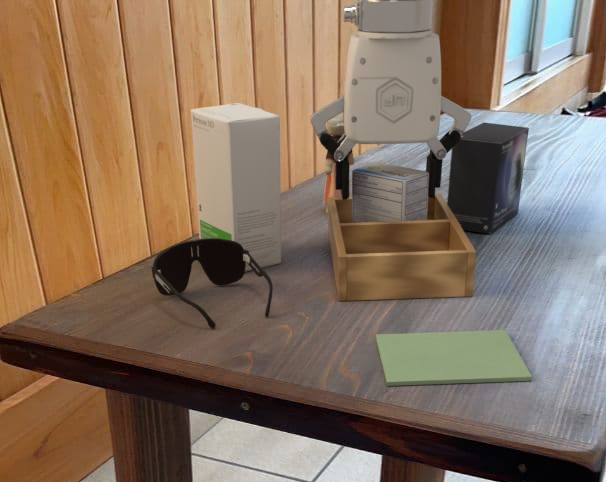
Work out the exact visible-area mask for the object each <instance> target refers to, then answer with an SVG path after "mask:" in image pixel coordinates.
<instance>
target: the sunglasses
mask: <svg viewBox="0 0 606 482" xmlns="http://www.w3.org/2000/svg"><path fill="white" fill-rule="evenodd" d="M196 261H197V262H199V265H200V266H201V268H202V270H203V272H204V274H205V275H206V277H207V278H208V280H209V281H210V282H211V283H212V284H213V285H215V286H228V285H231V284H234V283H237V282H238V281H240V280H241V279H243V278H244V276H245V274H246V272H245V268H246V262H247V264H248V265H249V266H250V267H251V268H252V270H251V271H253V272H254V273H255V275H256V276H257V277H258V278H260V277H261V278H262V277H263V278H264V279H265V281H266V282H267V284H268V288H269V292H268V298H267V304H266V308H265V312H264V316H265V317H266V318H269V316H270V312H271V311H270V309H271V305H272V299H273V282H272V279H271V277H270V276H269V274H268V273H267V271H265V270H264V269H263V268H261V267H260V266H259V265H258V264H257V262H256V261H255V260H254V259H253V258H252V256H251V255H250V254H249V251H248V250H244V249H243V247H242V246H241V244H239V243H238V242H235V241H232V240H226V239H221V238H204V239H200V238H197V239H191V240H186V241H182V242H179V243H176V244H173V245H171V246H169V247H167V248H166V249H164V250H162V251H161V252H159V253H158V255H156V257H155V258H154V260H153V263H152V264H153V265H152V266H151V274H152V278H153V280H154V283H155V286H156V289H157V291H158V292H159V294H161V295H162V296H167V297H169V296H170V297H171V296H176V297H177V298H178V299H179V300H181V301H182V302H183V303H186V304H187V305H190V306H191V307H193V308H195V310H197V311H198V312H199V313H200V314H201V315H202V317H203V318H204V319H205V320H206V323H207V325H208V327H209V328H211V329H216V325H217V324H216V323H215V321H214V320H213V319H212V318H211V317H210V315H209V314H208V313H207V312H206V311H205V309H203V308H202V307H201V306H200V305H199V304H197V303H196V302H194V301H191V299H188V298H186V297H185V296H184V295H182V293H183V292H185V290H186V289H187V287H188V285H189V281H190V277H191V273H192V268H193V263H194V262H196Z"/></svg>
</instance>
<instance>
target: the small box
mask: <svg viewBox="0 0 606 482" xmlns="http://www.w3.org/2000/svg"><path fill="white" fill-rule="evenodd" d="M529 131H530V128H529V127H527V126H517V125H509V124H502V123H501V124H500V123H492V122H482V123H479V124H477V125H475V126H473V127H471V128H470V129H466V130H465V131H464V133H463V134H462V136H461V139H460V141H459V142H458V143H457V144H456V145H455V146H454V147H453V148H452V149H451V150H450V165H449V175H448V189H447V199H446V203H447V204H448V206H449V208H450V209H451V211H452V213H453V214H454V216H455V218H456V219H457V221H458V223H459V224H460V226H461V227H462V229H463V231H465V232H467V231H468V232H473V233H480V234H487V235H489V234H493V233H494V232H495V231H496V230H497V229H499V228H500V227H501V226H503V225H505V224H506V223H508V221H510V220H511V219H512V218H513V217H515V216H517V215H519V208H520V200H521V193H522V185H523V177H524V168H525V160H526V152H527V145H528V137H529Z"/></svg>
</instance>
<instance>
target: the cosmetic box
mask: <svg viewBox="0 0 606 482" xmlns="http://www.w3.org/2000/svg"><path fill="white" fill-rule="evenodd" d="M190 119H191V121H190V122H191V133H192V149H193V162H194V163H193V164H194V177H195V179H194V180H195V192H196V208H197V223H198V237H199V238H198V239H204V238H221V239H226V240H232V241H235V242H238V243H239V244H241V246H242V247H243V249H244V250H248V251H249V254H250V255H251V256H252V258H253V259H254V260H255V261H256V262H257V264H258V265H259V266H260V267H261V268H262V269H263V268H267V267H270V266H275V265H279V264H282V225H281V224H282V218H281V217H282V209H281V208H282V207H281V199H282V197H281V116H280V115H278V114H275V113H272V112H269V111H266V110H264V109H262V108H260V107H256V106H255V107H254V106H251V105H247V104H243V103H241V102H235V103H227V104H220V105H214V106H212V105H211V106H205V107H198V108H192V109H190ZM250 271H253V270H252V268H251V267H250V266H249V265H248V264H247V262H246V268H245V273H247V272H250Z"/></svg>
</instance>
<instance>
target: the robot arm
mask: <svg viewBox="0 0 606 482" xmlns="http://www.w3.org/2000/svg"><path fill="white" fill-rule="evenodd" d="M433 8H434V0H357V1H356V2H354V4H351V5H349V6H343V22H344V23H350V24H354V26H356V28H357V33H353V34H351V36H350V40H349V43H348V44H349V45H348V50H347V60H346V67H345V74H344V75H345V76H344V87H343V95H342V96H340V97H339V98H336V99H335V100H333V101H331V102H330V103H328V104H326V105H325V106H324V107H321V108H320V109H319V110H316V111H315V112H313V113H311V115H310V117H309V119H310V124H311V126H312V128H313V130H314V132H315V134H316V136H317V139H318V140H319V143H320V145H321V146H322V147H324V149H325V150H326V152H327V151H328V152H329V153H330V154H331V155H332V156H333V157H334V158H335V160H336V167H335V188H336V190H341V195H342V199H347V198H349V181H350V165H349V159H348V157H347V155H348V153H349V152H350V151H351V149H352V150H353V148H354V147H355V146H356V145H357V144H358V145H399V144H401V145H403V144H424V143H425V144H426V145H427V146H428V148H429V149H430V150H429V153H428V155H427V156H426V162H425V163H426V164H425V171H427V172H428V173H429V186H428V196H429V197H430V198H434V197H435V194H436V189H440V188H441V185H442V172H443V171H442V170H443V160H444V159H445V158H447V154H449V152H451V150H452V148H453V147H454V146H455V145H456V144H457V143H458V142H459V141H460V139H461V136H462V134H463V133H464V132H465V131H466V130H467V128H468V126H469V124H470V122H471V120H472V114H471V112H470V111H468V110H467V109H465V108H464V107H462V106H460V105H458V104H457V103H456V102H453V101H451V100H450V99H448V98H447V97H444V96H443V95H442V56H441V55H442V54H441V42H440V35H439V34H437V33H434V32H432V25H433V24H432V23H433ZM342 112H343V123H344V130H345V133H344V134H343V136H342V137H341V138H340V139H339V141H338V142H337V141H336V140H335V139H334V138H333V137H332V135H331V134H330V133H329V132H328V129H327V121H329V120H330V119H332V118H334V117H335V116H337V115H339V114H341V113H342ZM441 113H443V114H445V115H447V116H449V117H450V118H453V123H452V126H451V127H450V129H449V130H448V131H447V132H446V133H445V134H444V135H443V136H442V137H441V138H440V139H439V138H438V135H439V132H440V127H441Z"/></svg>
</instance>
